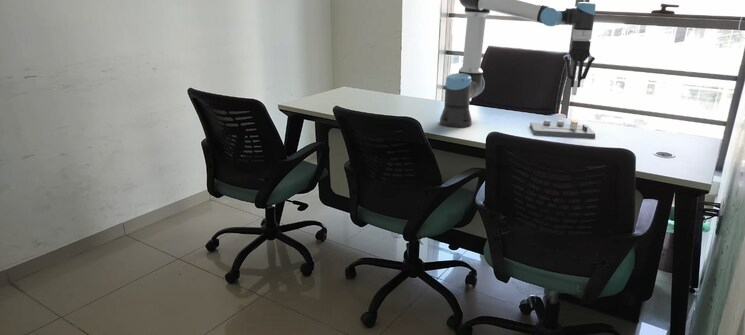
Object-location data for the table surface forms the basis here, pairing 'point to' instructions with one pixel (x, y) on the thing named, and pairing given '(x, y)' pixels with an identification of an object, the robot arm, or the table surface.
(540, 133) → the console
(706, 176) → the table surface
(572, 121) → the fader
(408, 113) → the table surface
